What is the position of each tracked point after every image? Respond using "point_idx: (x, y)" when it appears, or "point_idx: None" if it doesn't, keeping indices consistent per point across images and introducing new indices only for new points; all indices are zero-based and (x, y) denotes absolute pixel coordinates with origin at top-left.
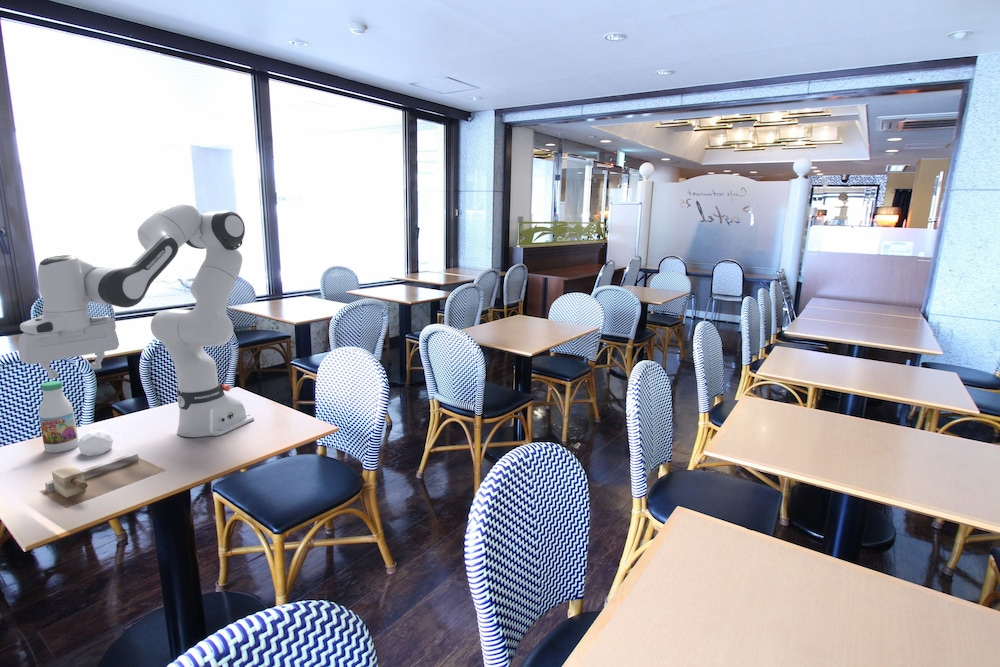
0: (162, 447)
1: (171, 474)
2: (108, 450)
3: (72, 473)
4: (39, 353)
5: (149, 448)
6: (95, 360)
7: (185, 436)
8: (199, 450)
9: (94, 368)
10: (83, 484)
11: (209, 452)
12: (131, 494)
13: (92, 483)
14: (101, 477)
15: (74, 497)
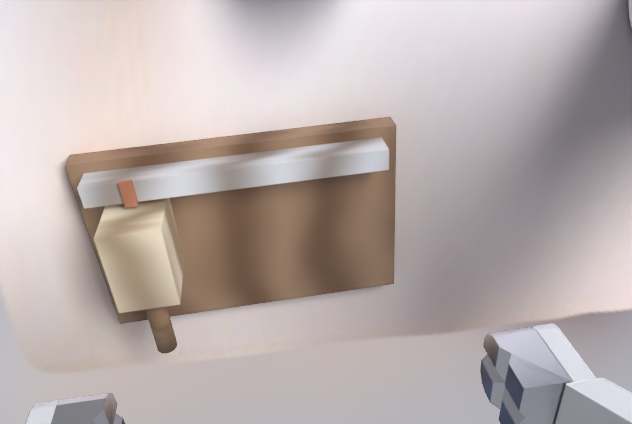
0: (516, 38)
1: (399, 275)
2: None
3: (149, 296)
4: None
5: (485, 4)
6: (584, 399)
7: (630, 9)
8: (554, 172)
9: (487, 381)
10: (165, 351)
11: (555, 210)
12: (275, 314)
13: (211, 226)
14: (245, 203)
15: None
